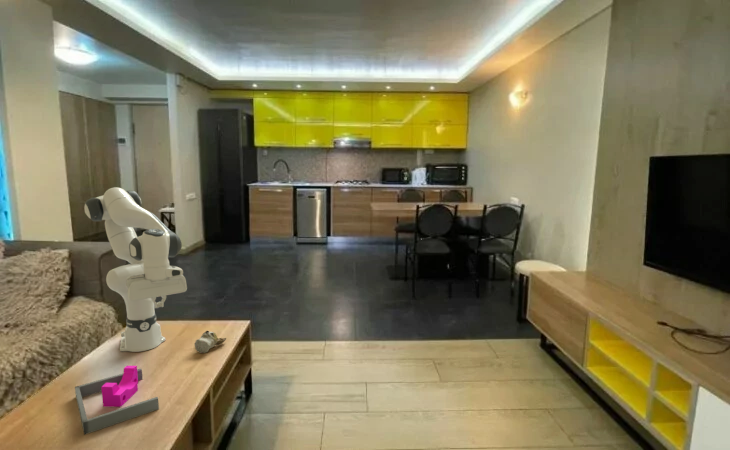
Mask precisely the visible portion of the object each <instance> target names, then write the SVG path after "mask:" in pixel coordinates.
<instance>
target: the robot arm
mask: <svg viewBox="0 0 730 450" xmlns="http://www.w3.org/2000/svg"><path fill="white" fill-rule="evenodd" d="M84 214H85V215H86V216H87V217H88V219H89V220H90V221H92V222H102V221H104V228H105V233H106V236H107V240H108V242H109V244H110V246H111V249H112V252H113V254H114V255H115V256H116V258H118V259H120V260H123V261H127V262H128V263H129V264H126V265H125V264H124V265H120V266H117V267H115V268H113V269H110V270H109V271H108V272H107V274H106V278H105V281H106V282H105V283H106V284H107V285H106V286H107V287H108V288H109V289H110V290H111V291H114V292H115V293H117V294H119V295H120V296H121V297H122V300H124V304H125V308H126V309H125V310H126V320H125V322H126V327H125V330H124V331H122V332H120V334H121V338H120V346H119V351H120V352H131V353H132V352H133V353H135V352H139V353H140V352H145V351H148V350H152V349H154V348H157V347H159V345H160V344H162V343H163V342H164V341H166V337H164V336H163V335H162V331H161V330H162V328H161V324H159V323H158V322H157V314H156V312H155V309H159V308H163V307H164V305H165V304H164V303H165V302H166V300H167V296H170V295H175V294H181V293H185V292H187V289H188V285H187V279H186V277H185V276H184V270H183V269H182V268H181V267H178V266H176V265H170V260H169V258H175V257H176V256H177V255H178V254H179V253H180V252H181V250H182V246H183V244H182V240H181V238H180V237H179V235H178V234H176V233H175V232H174V231H172V230H170V228H168V227H167V225H165V223H163V221H162V220H161V219H160V218H159V217H157V215H155V214H154V213H153V212H152V211H149V210H147V209H146V208H143V207H142V199H141V197H140V195H139V194H138V192H137V191H135V190H125V189H124V188H121V187H116V186H114V187H111V188H108V189H107V190H106V191H105V192H104V193H103V195H100V196H97V197H94V196H93V197H91V198H88V199H86V201H85V202H84ZM134 228H138V229H145V230H144V231H143V232H142V235H139V236H138V235H137V233H136V231H135V229H134ZM159 297H161V300H160V301H158V302H156V300H157V298H159Z"/></svg>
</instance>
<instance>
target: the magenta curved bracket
mask: <svg viewBox="0 0 730 450" xmlns="http://www.w3.org/2000/svg"><path fill="white" fill-rule="evenodd" d="M137 369H138V365H125V367H123V372H122V374H123V377H122V380H121V382H120V383H119V385H117V383H105V384H104V385H103V386H102V387H101V389H102V391H101V398H102V407H104V408H105V407H106V408H109V407H110V408H111V407H113V408H114V407H115V408H117V407H118V408H119V407H120V408H122V406H124V404H126V402H128V401H129V400H130V399H131V398H132V397H133V396H134V395H135V394H136V393H137V392H138V391H139V388H138V385H139V380H138V374H137Z"/></svg>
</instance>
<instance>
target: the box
mask: <svg viewBox="0 0 730 450" xmlns="http://www.w3.org/2000/svg"><path fill="white" fill-rule="evenodd" d="M137 374H138V381H141V380H143V370H142V368H137ZM122 377H123V373H120V374H116V375H112V376H109V377H106V378H101V379H98V380H95V381H91V382H87V383H83V384H80V385H77V386H75V387H74V389H75V392H74V393H75V398H76V399H75V400H76V403H77V407H78V412H79V416H80V422H81V424H82V426H81V427H82V430H83V433H84V435H88V434H91V433H93V432H96V431H98V430H102V429H105V428H108V427H111V426H113V425H117V424H119V423H123V422H126V421H128V420H132V419H135V418H136V417H139V416H140V417H141V416H142V415H145V414H146V415H147V414H149V413H151V412H154V411H158V410H160V404H159V397H158V396H155V397H151V398H149V399H147V400H143V401H139V402H137V403H134V404H131V405H128V406H125V407H120V408H119V409H115V410H112V411H109V412H106V413H103V414H101V415H97V416H94V417H91V418H88V417H87V413H86V408H85V404H84V400H83V397H87V396H90V395H93V394H97V393H102V389H101V387H102V386H103V385H104V384H105V383H117V385H119V383H120V382H121V380H122Z"/></svg>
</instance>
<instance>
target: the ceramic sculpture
mask: <svg viewBox="0 0 730 450" xmlns="http://www.w3.org/2000/svg"><path fill="white" fill-rule="evenodd" d="M226 340H227V337H225V338H222V337H219V338H218V335H217V334H216V332H213V331H210V330H206V331H205V332H203V333H202V335H201V336H200V337H199V338H197V339H196V340H195V342H194V348H195V350H196V351H197V352H198V353H200V354H205V353H207V352H209V350H210V349H212V348H214V347H215V346H219V345H222V344H223V343H224V342H225V341H226Z"/></svg>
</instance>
